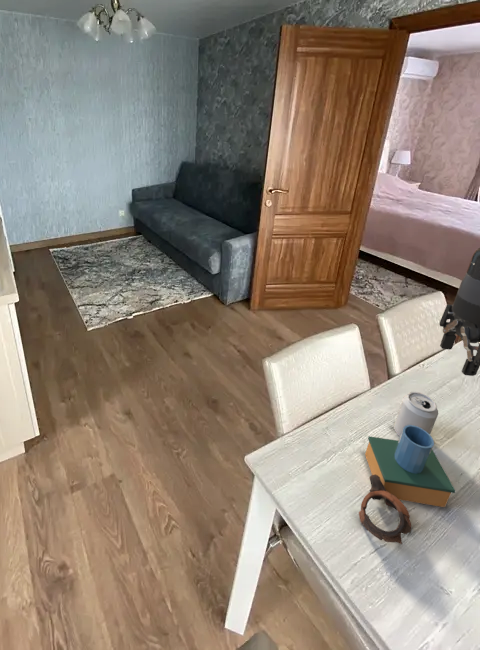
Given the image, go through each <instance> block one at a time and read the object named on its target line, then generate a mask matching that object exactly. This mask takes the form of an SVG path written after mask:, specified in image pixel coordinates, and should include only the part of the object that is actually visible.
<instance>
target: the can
mask: <svg viewBox="0 0 480 650" xmlns="http://www.w3.org/2000/svg"><path fill="white" fill-rule="evenodd" d="M438 416H439V410H438V405H437V403H436V402H435V400H434V399H432V398H431V397H430V396H428V395H427V394H424V393H423V392H422V393H421V392H418V391H410V392H408V393H407V394H405V395H404V396H403V397H402V400H401V403H400V405H399V409H398V411H397V414H396V418H395V420H394V424H393V428H394V431H395V433H396V434H397V435H398V437H400V436H401V433H402V430H403V428H404V427H405V426H407V425H414V426H417V427H420V428H422V429H423V430H425V431H426V432H428V433H429V434H430V435H431V433H432V431H433V429H434V426H435V423H436V421H437V418H438Z"/></svg>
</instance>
